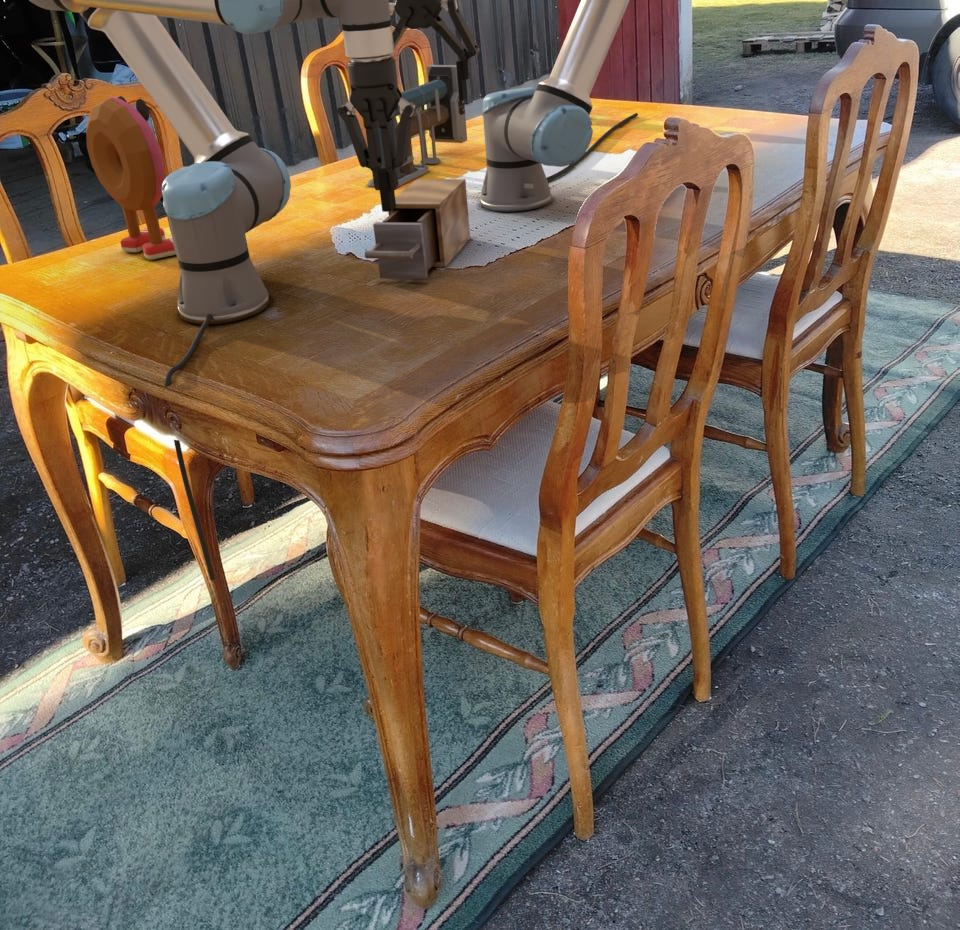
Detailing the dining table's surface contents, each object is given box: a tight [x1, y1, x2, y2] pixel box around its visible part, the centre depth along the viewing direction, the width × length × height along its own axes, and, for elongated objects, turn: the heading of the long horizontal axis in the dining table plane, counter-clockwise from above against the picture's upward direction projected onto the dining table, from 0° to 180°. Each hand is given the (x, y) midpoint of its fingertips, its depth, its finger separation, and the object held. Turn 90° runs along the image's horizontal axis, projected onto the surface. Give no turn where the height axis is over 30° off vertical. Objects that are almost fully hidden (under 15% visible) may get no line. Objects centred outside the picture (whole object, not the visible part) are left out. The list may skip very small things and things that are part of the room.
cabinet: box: [387, 178, 471, 268], centre depth 181 cm, size 16×10×12 cm, turn 164°
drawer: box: [364, 208, 440, 280], centre depth 171 cm, size 21×9×10 cm, turn 164°
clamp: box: [367, 64, 468, 188], centre depth 236 cm, size 35×9×21 cm, turn 151°
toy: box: [85, 95, 177, 261], centre depth 190 cm, size 21×10×30 cm, turn 47°
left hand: (389, 209), depth 161 cm, fingers closed
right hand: (427, 100), depth 175 cm, fingers open, 13 cm apart
